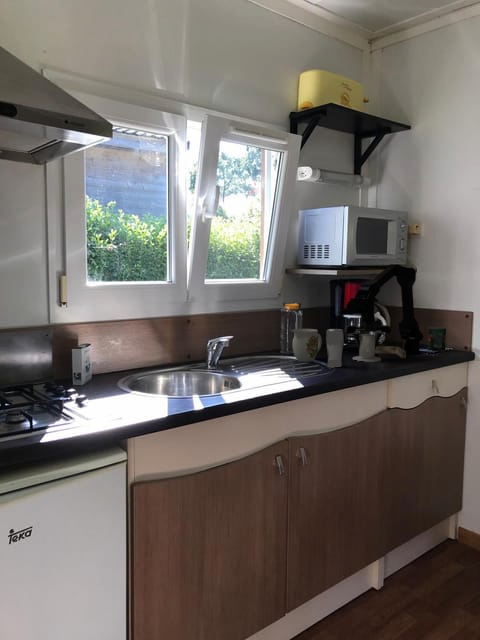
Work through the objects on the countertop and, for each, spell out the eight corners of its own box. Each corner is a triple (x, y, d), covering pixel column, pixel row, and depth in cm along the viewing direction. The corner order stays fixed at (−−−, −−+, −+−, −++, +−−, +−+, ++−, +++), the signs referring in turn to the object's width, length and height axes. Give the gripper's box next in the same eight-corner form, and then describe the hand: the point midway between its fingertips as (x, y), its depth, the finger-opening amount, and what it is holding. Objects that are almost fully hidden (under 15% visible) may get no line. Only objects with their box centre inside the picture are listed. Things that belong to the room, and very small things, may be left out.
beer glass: (336, 364, 227) (336, 328, 226) (346, 367, 221) (347, 330, 220) (322, 365, 224) (322, 329, 223) (332, 368, 218) (333, 331, 216)
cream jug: (357, 354, 241) (358, 334, 240) (373, 354, 241) (373, 334, 240) (361, 358, 232) (362, 336, 231) (377, 358, 232) (377, 336, 231)
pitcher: (330, 359, 239) (330, 328, 237) (301, 364, 227) (302, 331, 226) (311, 356, 247) (311, 325, 245) (282, 361, 235) (283, 329, 234)
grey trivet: (377, 357, 244) (377, 356, 244) (383, 362, 232) (383, 360, 232) (350, 357, 244) (350, 355, 244) (355, 362, 232) (355, 360, 232)
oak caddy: (397, 353, 255) (398, 346, 255) (405, 358, 241) (406, 351, 240) (364, 352, 255) (364, 346, 255) (370, 358, 241) (370, 351, 241)
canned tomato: (424, 349, 265) (425, 326, 264) (439, 348, 267) (439, 326, 266) (434, 352, 258) (435, 328, 256) (448, 351, 259) (449, 328, 258)
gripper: (348, 314, 228) (348, 351, 230) (394, 314, 227) (393, 352, 229) (344, 312, 239) (344, 347, 241) (388, 312, 239) (387, 347, 240)
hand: (367, 348), depth 238 cm, fingers closed on cream jug, 6 cm apart
